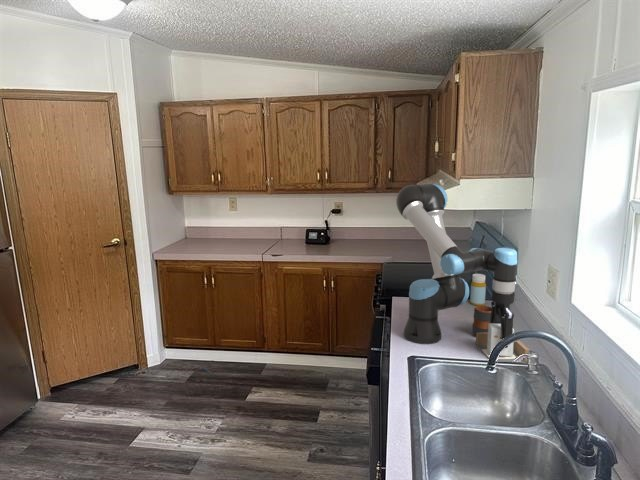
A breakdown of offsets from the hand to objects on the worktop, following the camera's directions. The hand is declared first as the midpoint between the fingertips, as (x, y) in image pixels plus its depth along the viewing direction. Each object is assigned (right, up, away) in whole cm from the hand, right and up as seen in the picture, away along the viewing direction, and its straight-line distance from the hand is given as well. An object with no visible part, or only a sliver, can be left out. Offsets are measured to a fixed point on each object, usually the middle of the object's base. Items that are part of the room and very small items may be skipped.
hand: (499, 350), depth 158 cm
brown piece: (+2, -2, +2) cm, 3 cm away
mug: (+2, +2, +20) cm, 21 cm away
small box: (0, -1, 0) cm, 1 cm away
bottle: (+13, +8, +58) cm, 60 cm away
